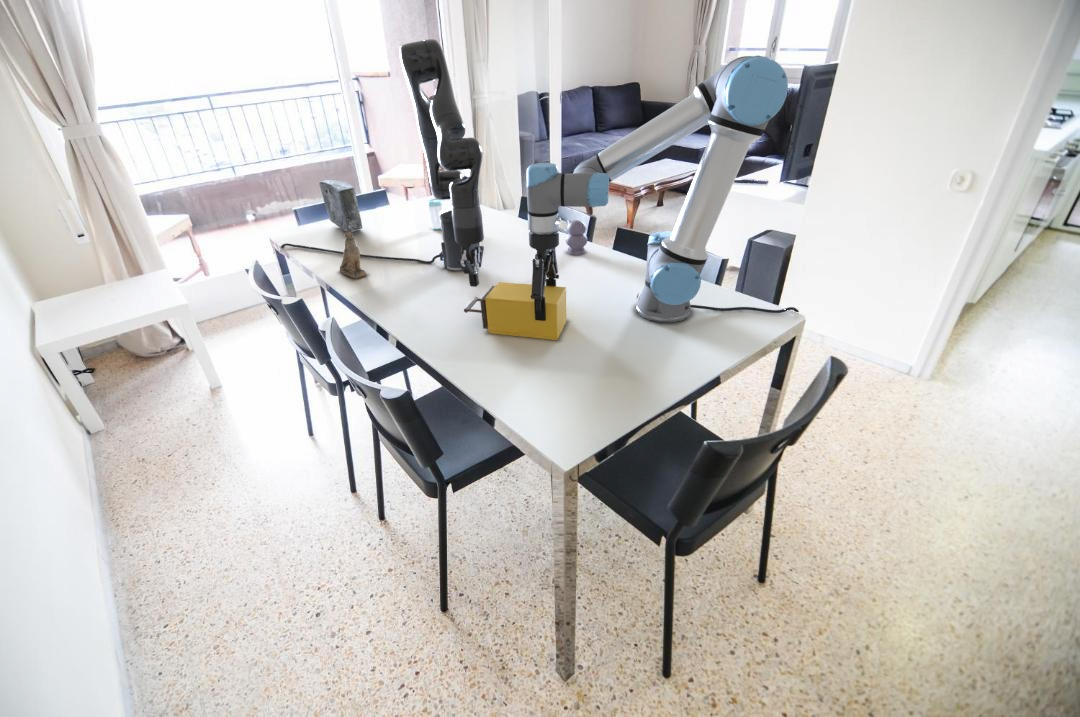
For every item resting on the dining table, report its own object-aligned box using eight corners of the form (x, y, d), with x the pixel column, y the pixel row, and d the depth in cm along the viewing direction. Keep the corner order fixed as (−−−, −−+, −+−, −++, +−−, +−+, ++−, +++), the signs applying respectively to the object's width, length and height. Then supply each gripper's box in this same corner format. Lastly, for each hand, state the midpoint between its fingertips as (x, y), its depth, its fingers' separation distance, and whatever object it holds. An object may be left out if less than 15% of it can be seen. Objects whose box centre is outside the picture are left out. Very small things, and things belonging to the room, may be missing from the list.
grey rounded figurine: (591, 251, 189) (592, 220, 183) (578, 257, 185) (578, 225, 178) (574, 246, 195) (574, 216, 188) (561, 252, 190) (560, 221, 183)
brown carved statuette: (368, 281, 178) (362, 235, 166) (353, 285, 175) (347, 238, 163) (352, 266, 184) (346, 221, 172) (338, 270, 181) (331, 224, 169)
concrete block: (367, 234, 218) (357, 187, 208) (347, 238, 214) (336, 190, 203) (348, 221, 237) (338, 177, 226) (329, 225, 232) (318, 180, 222)
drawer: (464, 326, 138) (460, 298, 134) (477, 311, 146) (474, 284, 142) (547, 335, 133) (546, 305, 128) (555, 318, 141) (555, 290, 136)
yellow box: (488, 333, 137) (484, 298, 131) (501, 315, 146) (498, 282, 140) (557, 340, 132) (556, 304, 126) (566, 321, 141) (566, 287, 135)
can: (445, 229, 220) (441, 202, 214) (429, 230, 220) (425, 202, 214) (447, 224, 226) (444, 198, 220) (432, 225, 226) (428, 198, 220)
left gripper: (471, 231, 121) (478, 296, 130) (490, 216, 132) (495, 277, 141) (443, 229, 123) (452, 294, 132) (464, 215, 134) (471, 275, 143)
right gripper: (546, 246, 113) (548, 331, 124) (568, 217, 132) (568, 293, 143) (515, 244, 114) (520, 328, 126) (541, 216, 133) (543, 291, 145)
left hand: (474, 285), depth 136 cm, fingers closed
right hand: (546, 310), depth 134 cm, fingers closed on yellow box, 11 cm apart
